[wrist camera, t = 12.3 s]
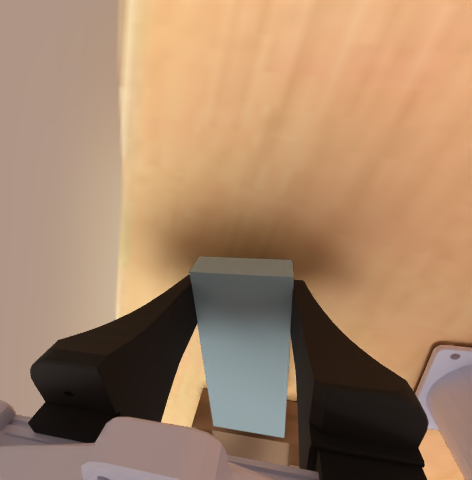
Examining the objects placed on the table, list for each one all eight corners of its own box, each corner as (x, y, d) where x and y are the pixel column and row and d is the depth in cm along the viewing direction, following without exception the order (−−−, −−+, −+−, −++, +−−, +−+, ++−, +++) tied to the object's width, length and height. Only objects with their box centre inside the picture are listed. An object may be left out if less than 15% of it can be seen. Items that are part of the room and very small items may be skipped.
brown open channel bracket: (308, 403, 19) (314, 469, 16) (297, 493, 26) (299, 554, 22) (203, 388, 21) (185, 445, 17) (217, 477, 27) (208, 531, 24)
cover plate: (292, 260, 12) (294, 277, 11) (284, 412, 17) (284, 437, 16) (199, 256, 13) (189, 272, 12) (218, 402, 18) (213, 425, 17)
